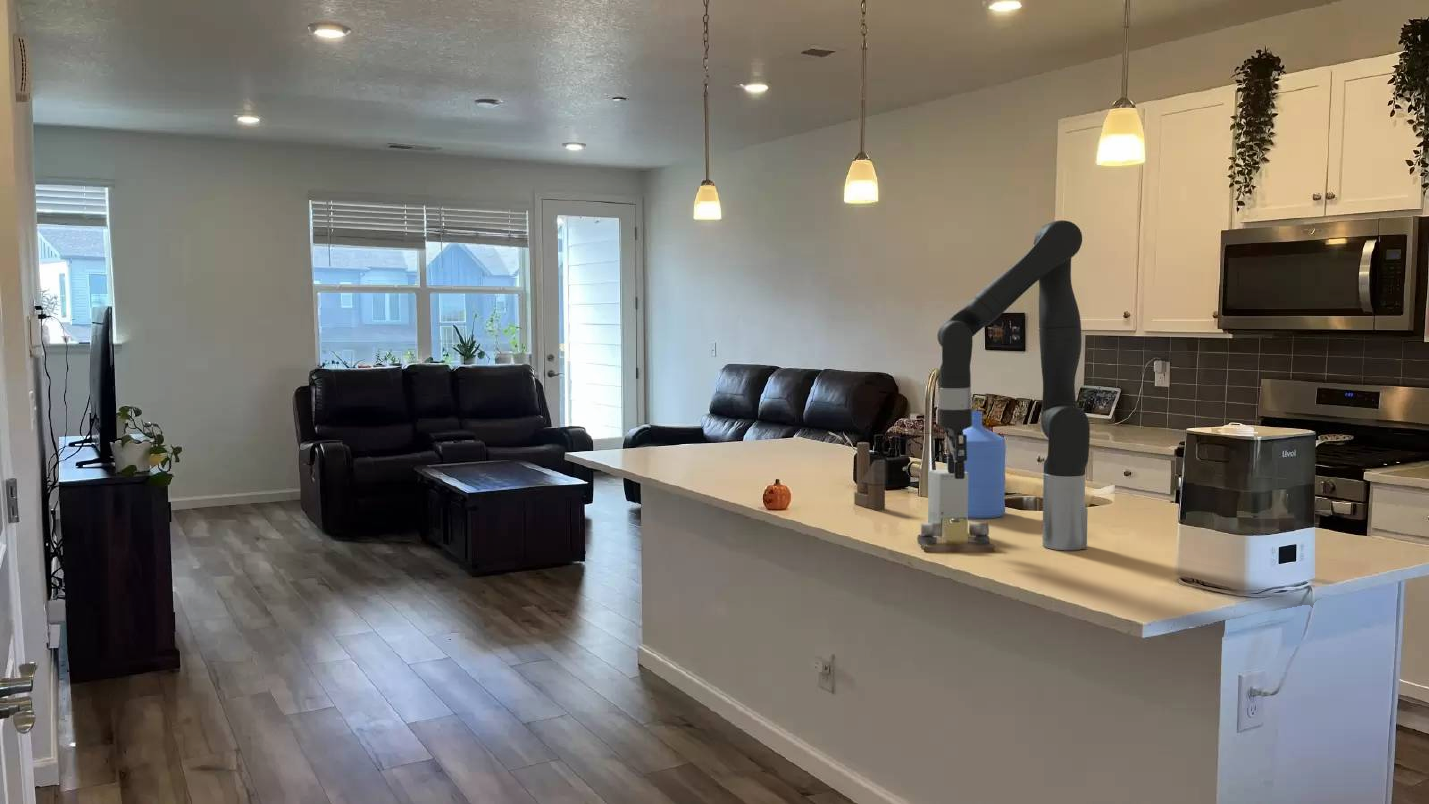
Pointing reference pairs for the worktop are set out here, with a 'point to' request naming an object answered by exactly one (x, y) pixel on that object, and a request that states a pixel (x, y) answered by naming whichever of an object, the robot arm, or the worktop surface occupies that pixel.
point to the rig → (938, 545)
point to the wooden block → (869, 479)
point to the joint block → (955, 531)
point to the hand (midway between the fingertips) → (956, 475)
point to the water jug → (984, 470)
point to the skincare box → (947, 496)
